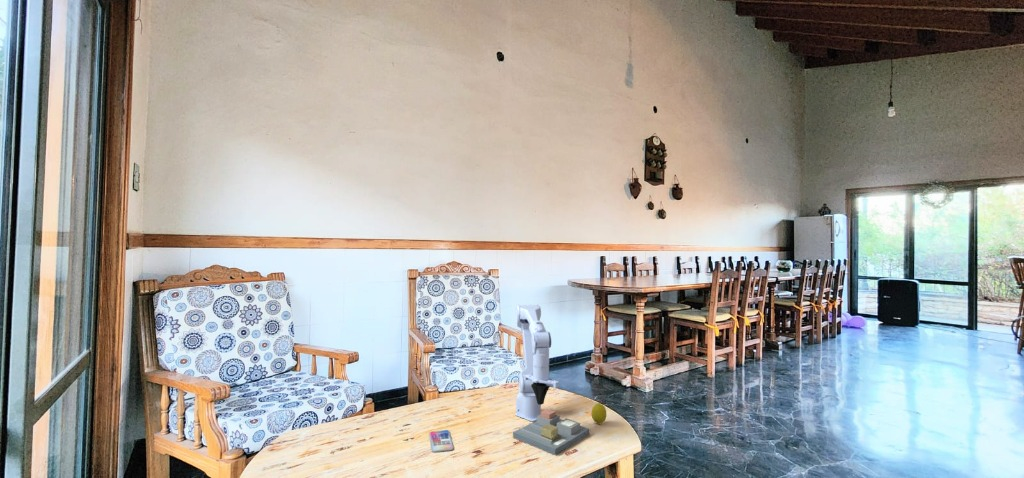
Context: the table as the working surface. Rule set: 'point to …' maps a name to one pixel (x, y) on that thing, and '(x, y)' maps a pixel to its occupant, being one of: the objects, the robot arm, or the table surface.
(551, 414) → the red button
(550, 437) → the slider knob
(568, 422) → the cream button
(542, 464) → the table surface
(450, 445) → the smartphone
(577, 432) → the panel
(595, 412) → the lemon
